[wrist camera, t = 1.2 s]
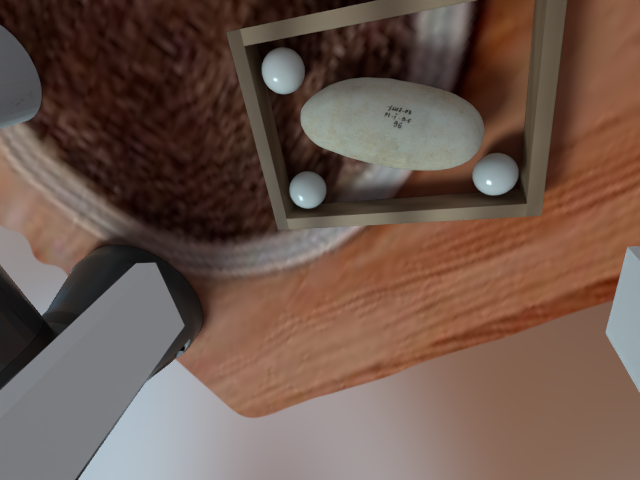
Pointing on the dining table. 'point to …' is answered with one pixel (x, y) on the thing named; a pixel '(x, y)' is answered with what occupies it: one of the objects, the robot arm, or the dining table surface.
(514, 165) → the pebble
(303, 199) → the pale glossy ball
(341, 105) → the stone
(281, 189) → the parts frame
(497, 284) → the dining table surface
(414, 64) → the dining table surface
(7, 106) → the mug
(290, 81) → the pebble
